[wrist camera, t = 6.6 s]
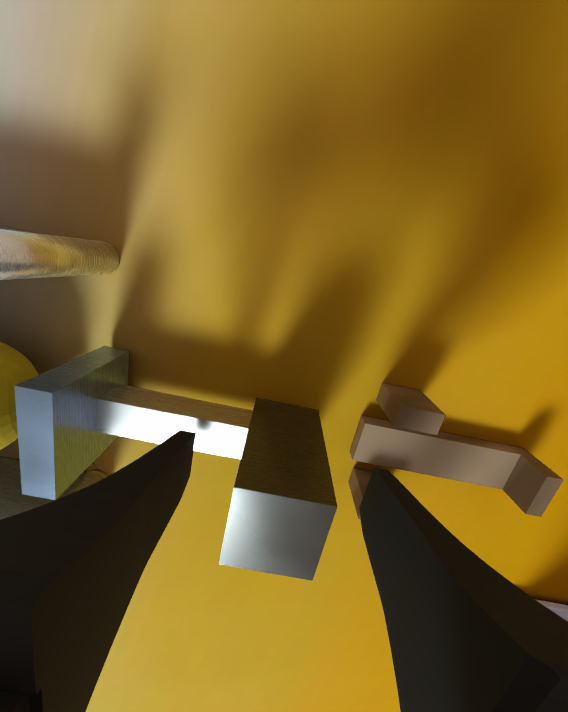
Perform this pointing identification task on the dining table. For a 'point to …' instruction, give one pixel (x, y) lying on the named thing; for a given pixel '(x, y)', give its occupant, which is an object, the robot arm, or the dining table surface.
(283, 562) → the rod
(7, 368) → the lemon
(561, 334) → the dining table surface
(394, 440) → the track
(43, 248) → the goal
